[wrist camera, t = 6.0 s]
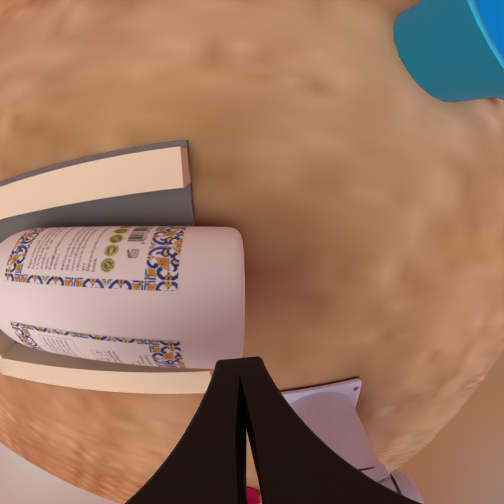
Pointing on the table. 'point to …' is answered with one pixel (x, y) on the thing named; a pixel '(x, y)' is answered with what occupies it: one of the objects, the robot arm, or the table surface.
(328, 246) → the table surface
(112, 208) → the cradle
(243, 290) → the bath foam
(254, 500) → the pepper mill
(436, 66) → the mug
